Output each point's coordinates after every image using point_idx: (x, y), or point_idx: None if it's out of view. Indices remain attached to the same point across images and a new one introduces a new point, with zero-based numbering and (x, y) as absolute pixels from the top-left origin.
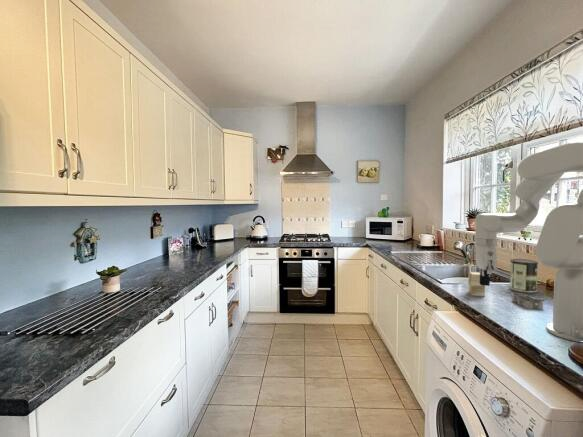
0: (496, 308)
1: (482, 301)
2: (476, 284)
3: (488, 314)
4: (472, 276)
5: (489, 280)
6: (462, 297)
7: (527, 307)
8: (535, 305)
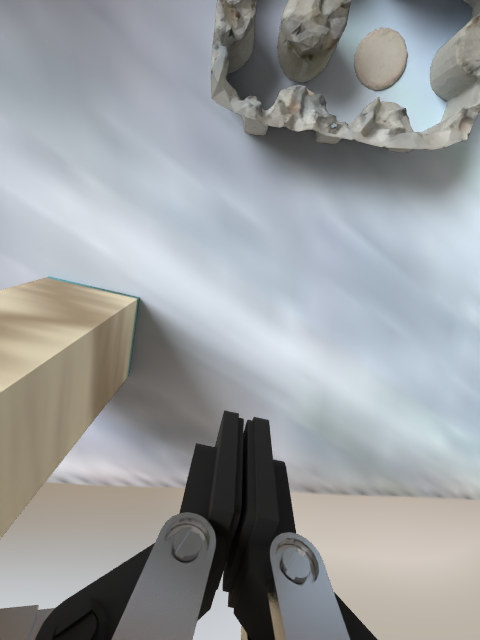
0: (387, 375)
1: (249, 377)
2: (84, 402)
3: (464, 474)
4: (24, 508)
5: (272, 464)
6: (168, 450)
7: (423, 131)
8: (451, 38)
